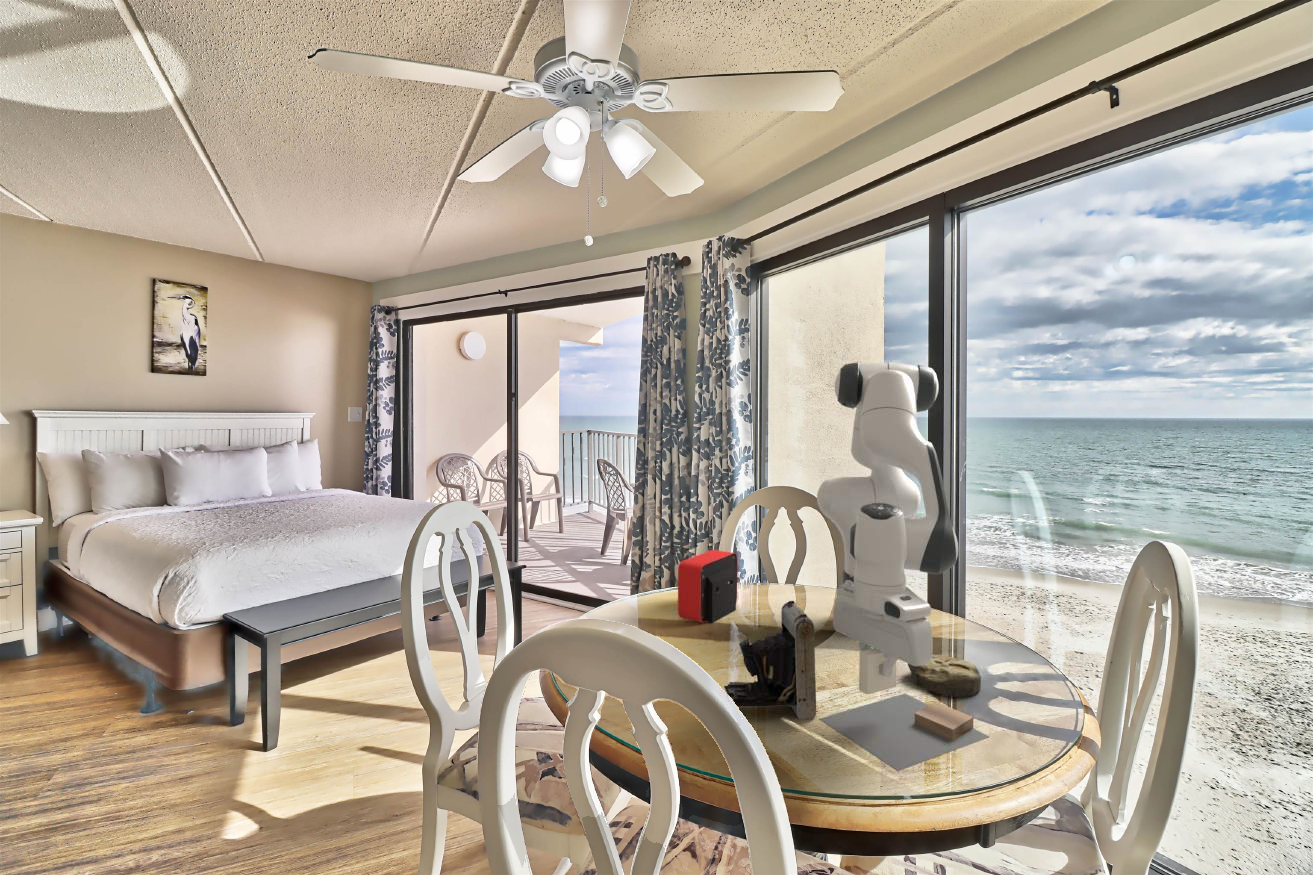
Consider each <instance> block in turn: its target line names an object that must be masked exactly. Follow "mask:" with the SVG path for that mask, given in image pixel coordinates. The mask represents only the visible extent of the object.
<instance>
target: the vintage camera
mask: <svg viewBox="0 0 1313 875" xmlns="http://www.w3.org/2000/svg"><path fill="white" fill-rule="evenodd" d="M781 607H782V608H781V612H780V614H781V615H780V616H781V620H780V621H781V633H780V632H779V633H776V634H775V635H771V636H766V637H764V638H762V639H756V641H755V642H752V643H750V642H751V641H749V639H746V640H744V641H742V642H739V647H740V652H741V654H742V657H743V659H742V660H743V663H744V666H745V668H746V670H747V672H748V673H749V674H750V677H752V678H755V677H756V679H757V680H754V681H751V682H749V681H748V682H744V681H729V683H727V685H723V688H724V690H725V692H727V693H726V695H727V694H728V695H729V696H730V697H731V698H732V699H733V701H734V702H735V704H736V705H737V706H738V707H739V708H742V707H743V708H751V707H752V708H757V707H758V708H759V707H760V708H762V707H763V708H764V707H765V708H766V707H786V706H787V707H788V706H789V707H791V708H792V710H793V712H794V713H795V714H796V716H797V718H798V719H799V720H800V721H807V720H809V721H810V720H814V719H815V717H816V715H817V692H816V691H817V690H816V688H817V685H816V682H817V681H816V656H815V655H816V653H815V652H816V651H815V625H814V623H813V620H811V618H810V617H809V616H808V615H807V614H806V613H805V612H804V611H803V610H802V609H801V608H800V607H799V605H798V604H797V603H795V601H794V600H789V601H788V602H786V603H784V604H783V606H781ZM728 695H727V696H728ZM738 707H737V708H738Z"/></svg>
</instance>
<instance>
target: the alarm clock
mask: <svg viewBox="0 0 1313 875" xmlns="http://www.w3.org/2000/svg"><path fill="white" fill-rule="evenodd" d="M737 601H738V554H737V553H736V552H732V551H731V552H730V551H724V550H719V549H718V550H717V549H711V550H707V551H705V552H704V553H700V554H697V555H694V556H693V557H689V558H687V559H684V560H682V561H681V562H680V563H679V564H678V568H677V614H678V616H679V618H682V619H686V620H691V621H694V622H700V623H709V624H713V623H715V622H717V621H719V620H722V619H723V618H725V617H727V616H728V615H730V614H732V613H733V612H735V611H736V610H737V603H738V602H737Z"/></svg>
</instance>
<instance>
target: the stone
mask: <svg viewBox="0 0 1313 875" xmlns="http://www.w3.org/2000/svg"><path fill="white" fill-rule="evenodd" d="M907 666H908V669H909V671H910V673H911V679H912V682H913V684H914V685H915V686H917V687H920V688H922V689H924V690H927V691H929V692H931V693H932V692H933V693H935V694H940V695H941V696H946V697H951V698H966V697H972V696H975V695H976V693H977V692H979V691H980V690H981V686H982V676H981V674H980V671H979V669H978V668H977V667H976V665H975V664H973V663H972V662H970V661H969V660H968V661H967V660H964V659H957V658H955V657H952V656H947V655H941V654H932V659H931V660H930V661H929V662H928V663H927V664H924V665H920V666H913V665H911V664H908V663H907Z"/></svg>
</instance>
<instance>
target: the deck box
mask: <svg viewBox="0 0 1313 875" xmlns="http://www.w3.org/2000/svg"><path fill="white" fill-rule="evenodd" d="M858 659H859V665H858V666H859V667H858V671H859V675H858V690H859V692H862V693H863V694H865V695H867V696H868V695H871V694H875V693H878V692H882V691H886V690H889V689H893V688H896V687H897V662H896V663H895V664H894V666H893V669H892V676H889V677H885V676H883V675H881V674H880V673H879V665H880V664H884V662H885V661H886V659H885V658H884V652H882V651H879V650H877V649H875V648H873V647H872V648H871V649H869V650H865V651H861V650H860V651H859V658H858Z"/></svg>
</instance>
